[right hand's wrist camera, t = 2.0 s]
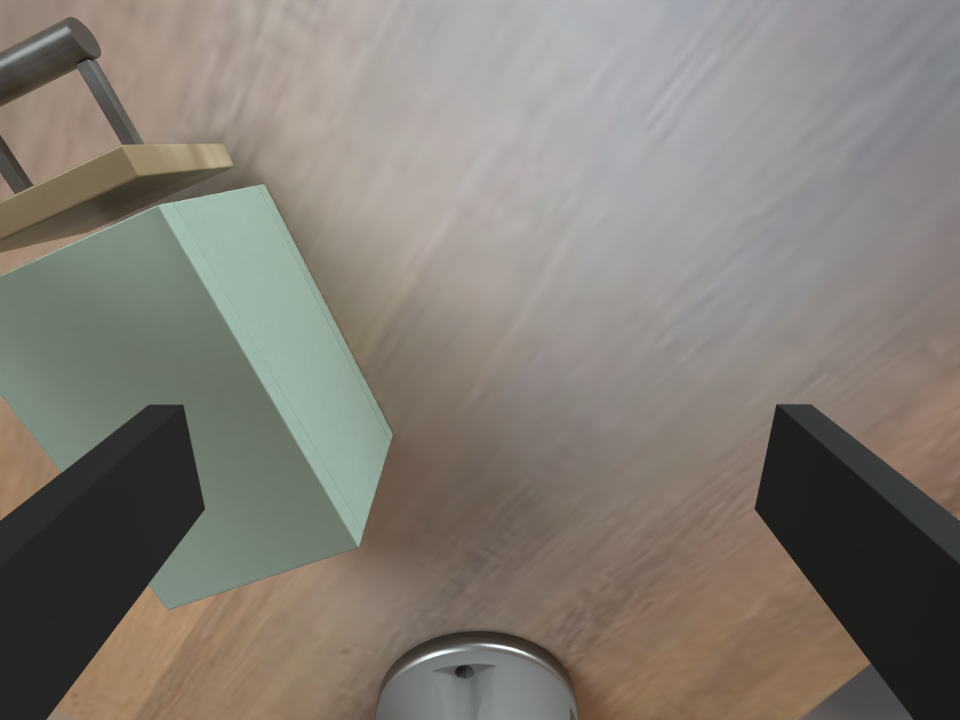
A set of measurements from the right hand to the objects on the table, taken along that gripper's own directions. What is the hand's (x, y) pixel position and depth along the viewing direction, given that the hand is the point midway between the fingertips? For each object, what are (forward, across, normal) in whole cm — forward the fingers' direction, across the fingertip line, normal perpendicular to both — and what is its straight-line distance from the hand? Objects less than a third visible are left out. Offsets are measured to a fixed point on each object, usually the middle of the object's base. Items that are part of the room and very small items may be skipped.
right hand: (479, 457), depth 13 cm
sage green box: (+20, +13, +5) cm, 24 cm away
